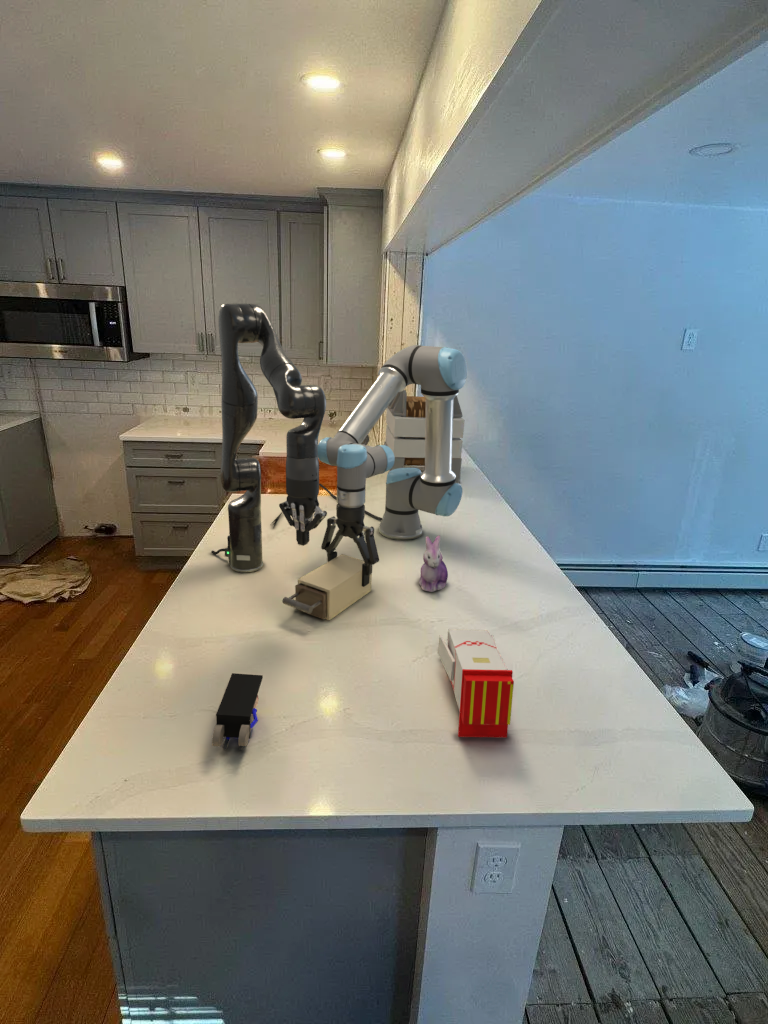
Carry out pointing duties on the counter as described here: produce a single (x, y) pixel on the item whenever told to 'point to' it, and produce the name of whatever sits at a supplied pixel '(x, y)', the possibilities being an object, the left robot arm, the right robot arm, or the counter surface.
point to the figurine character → (237, 710)
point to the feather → (276, 520)
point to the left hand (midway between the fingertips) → (302, 544)
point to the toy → (478, 682)
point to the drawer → (308, 600)
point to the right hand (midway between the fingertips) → (348, 579)
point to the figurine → (433, 567)
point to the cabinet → (338, 583)
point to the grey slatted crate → (417, 432)
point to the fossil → (365, 440)
